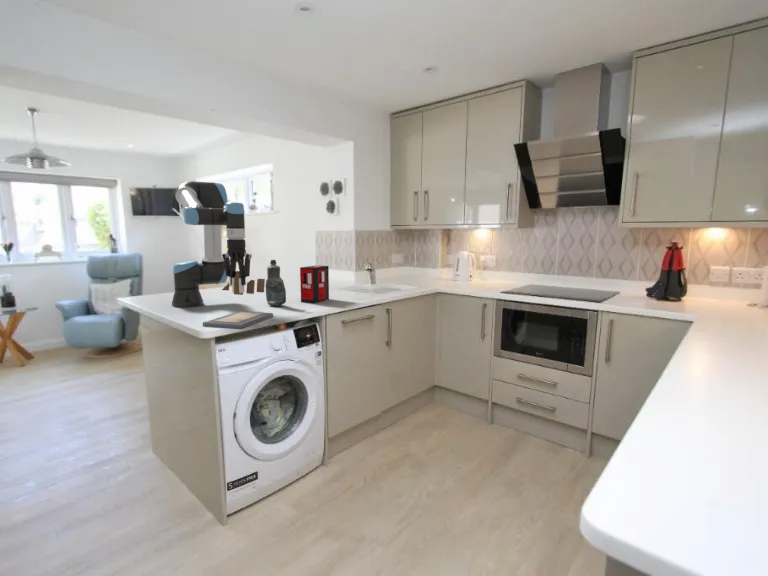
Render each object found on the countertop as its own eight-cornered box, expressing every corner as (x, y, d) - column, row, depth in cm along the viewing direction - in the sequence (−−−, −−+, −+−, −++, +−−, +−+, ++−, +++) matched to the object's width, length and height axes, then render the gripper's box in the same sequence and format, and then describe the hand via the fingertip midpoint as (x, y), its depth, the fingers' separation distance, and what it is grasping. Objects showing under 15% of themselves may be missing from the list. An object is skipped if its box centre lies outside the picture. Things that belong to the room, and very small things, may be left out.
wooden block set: (262, 295, 187) (264, 274, 187) (264, 295, 179) (266, 273, 179) (221, 293, 180) (222, 271, 180) (221, 293, 172) (223, 270, 172)
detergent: (289, 305, 216) (288, 259, 213) (281, 308, 210) (279, 260, 206) (270, 304, 221) (268, 259, 218) (261, 306, 215) (259, 259, 211)
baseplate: (202, 326, 167) (202, 321, 167) (239, 314, 192) (239, 310, 192) (240, 328, 163) (240, 324, 163) (273, 316, 188) (272, 312, 188)
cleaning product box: (314, 303, 224) (313, 267, 221) (301, 302, 227) (300, 267, 224) (329, 299, 239) (328, 265, 236) (316, 298, 242) (315, 265, 240)
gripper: (214, 238, 171) (217, 292, 174) (247, 239, 167) (249, 294, 171) (225, 238, 178) (228, 290, 181) (257, 239, 175) (259, 292, 178)
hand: (238, 292), depth 176 cm, fingers closed on wooden block set, 3 cm apart
